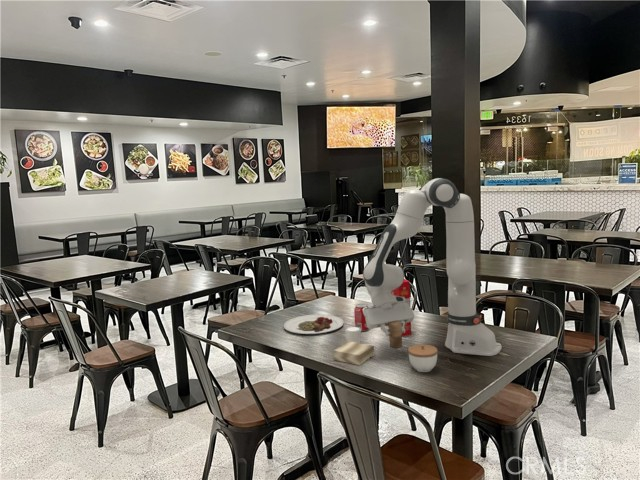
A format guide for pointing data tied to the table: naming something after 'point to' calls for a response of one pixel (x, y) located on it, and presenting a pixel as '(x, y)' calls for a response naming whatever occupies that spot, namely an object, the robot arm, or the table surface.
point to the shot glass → (353, 334)
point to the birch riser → (354, 352)
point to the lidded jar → (423, 357)
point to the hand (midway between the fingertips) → (396, 333)
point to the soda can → (360, 317)
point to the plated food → (313, 324)
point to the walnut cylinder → (395, 334)
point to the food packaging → (405, 292)
